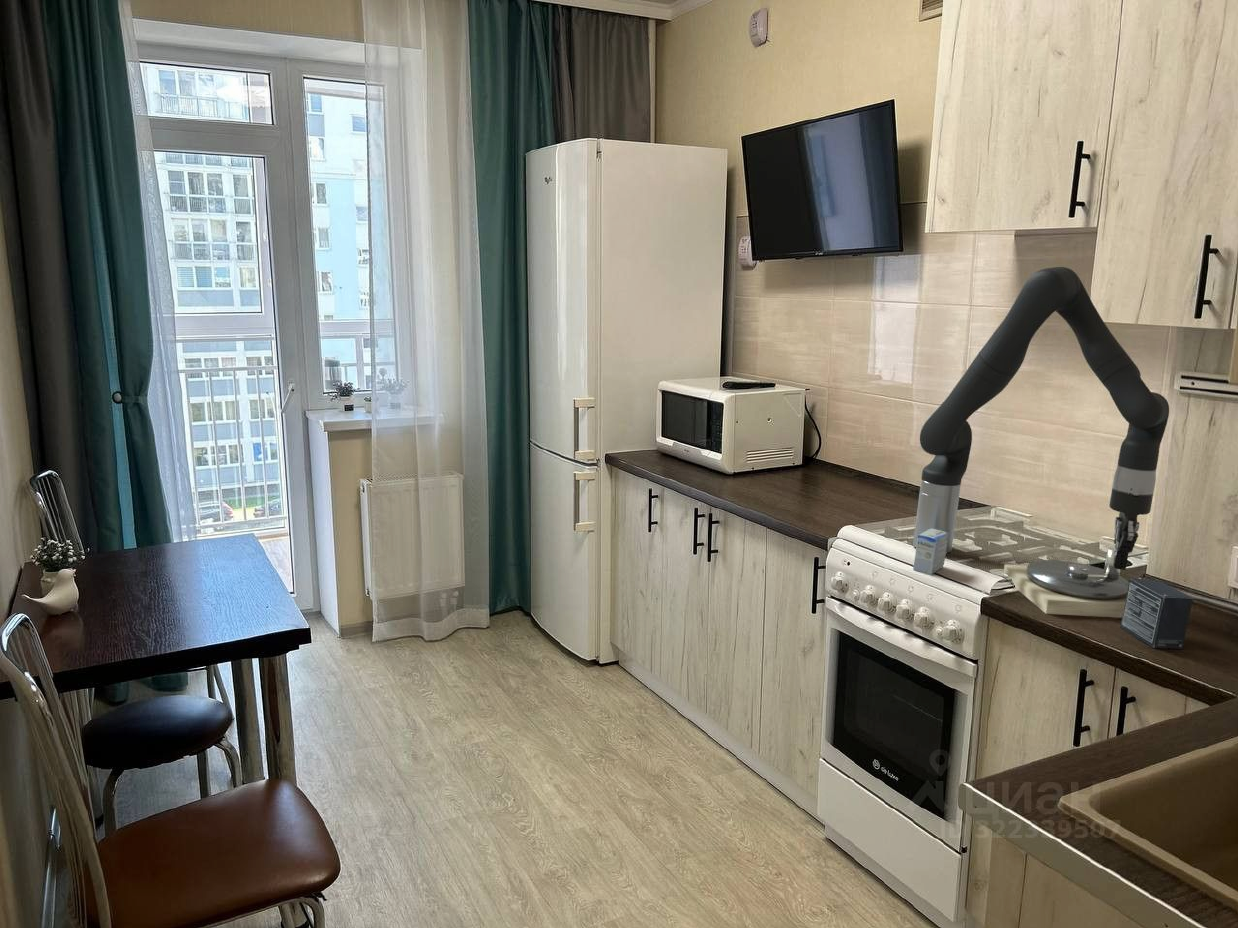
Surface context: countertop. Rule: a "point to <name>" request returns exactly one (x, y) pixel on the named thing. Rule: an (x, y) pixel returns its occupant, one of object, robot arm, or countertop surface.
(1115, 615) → the wheel base
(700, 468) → the countertop surface
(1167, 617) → the small box
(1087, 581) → the handwheel
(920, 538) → the medicine box
